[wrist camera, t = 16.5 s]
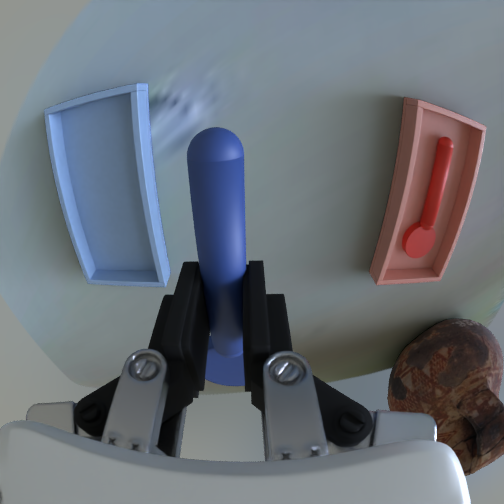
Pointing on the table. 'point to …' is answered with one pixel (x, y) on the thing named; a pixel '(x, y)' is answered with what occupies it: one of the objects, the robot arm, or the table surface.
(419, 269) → the rose tray
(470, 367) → the jug
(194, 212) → the navy spoon
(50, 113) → the blue tray
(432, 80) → the table surface
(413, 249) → the red spoon
